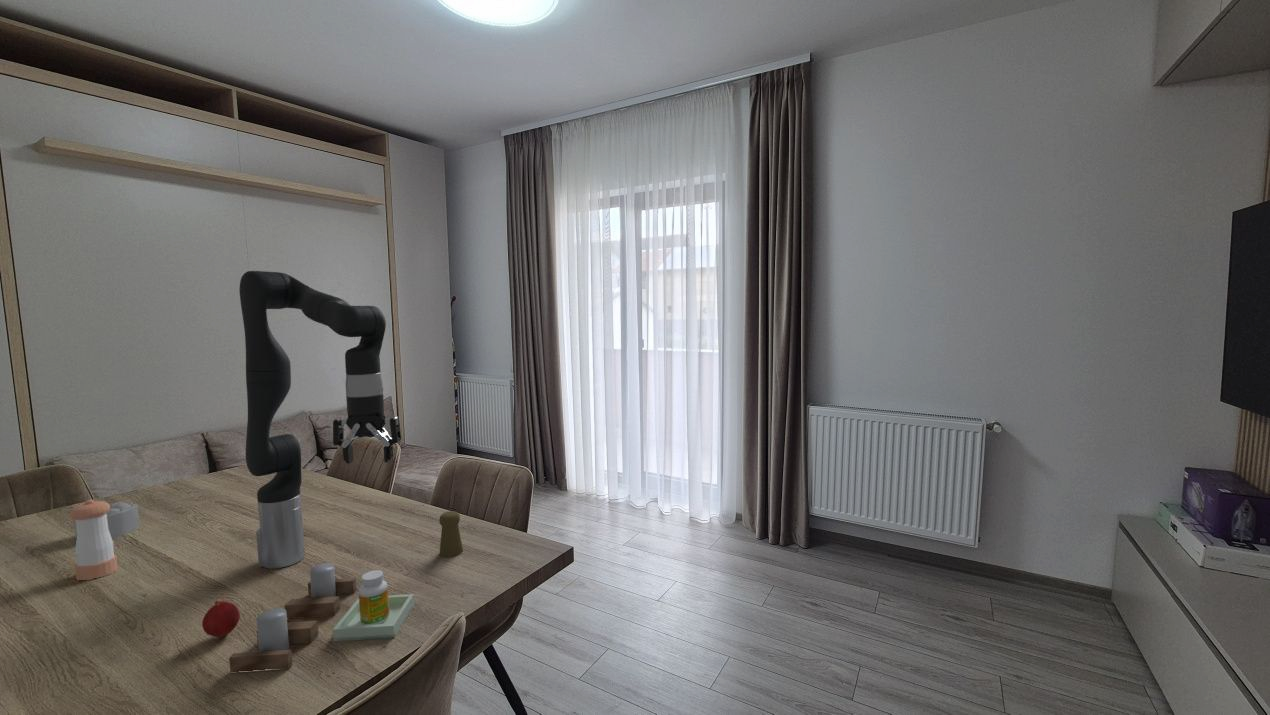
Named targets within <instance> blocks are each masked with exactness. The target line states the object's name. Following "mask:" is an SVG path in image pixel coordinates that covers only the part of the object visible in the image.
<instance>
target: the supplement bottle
mask: <svg viewBox="0 0 1270 715" xmlns="http://www.w3.org/2000/svg"><path fill="white" fill-rule="evenodd" d="M361 584H362V585H361V586H360V587H359V589H358V598H359V604H360V620H361V624H362V625H376V624H381V623H383V622H384V621H385V620H387V618H388V617H389V602H388V596H389V589H388V588H389V587H388V586H389V585H388V583H387V581H385V580H384V573H383V571H381V570H379V569H378V570H372V571H371V570H370V571H368V572H366V573H364V574H363V575H362V576H361Z"/></svg>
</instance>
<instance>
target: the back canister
mask: <svg viewBox="0 0 1270 715" xmlns="http://www.w3.org/2000/svg"><path fill="white" fill-rule="evenodd" d="M309 573H310V574H309V576H310V577H309V578H310V581H311V596H310V597H311V598H317V597H335V596H336V595H337V594H336V591H335V579H336V574H335V573H336V572H335V564H333V563H331V562H325V563H319V564H317V565H314V566H313V567H311V568H310V571H309Z"/></svg>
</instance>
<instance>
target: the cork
mask: <svg viewBox="0 0 1270 715" xmlns="http://www.w3.org/2000/svg"><path fill="white" fill-rule="evenodd" d="M460 519H461V516H460V514H459V512H457V511H454V510H451V511H446V512H444V513H442V514H440V516H439V525H440V526H441V531H440V532H441V535H440V544H439V554H438V555H439V556H440V557H442V558H445V559H446V558H454V557H455V558H456V557H458V556H459V555H461V554H462V553H463V552H464V548H463V543H462V542H463V541H462V538H461V537H462V536H461V533H460V528H459V523H460V522H461V521H460ZM457 555H458V556H457Z"/></svg>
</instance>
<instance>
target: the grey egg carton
mask: <svg viewBox="0 0 1270 715" xmlns="http://www.w3.org/2000/svg"><path fill="white" fill-rule="evenodd" d="M109 505H110V510H109V512H108V513H106V514H107V522H108V529H109V532H110V535H111V538H112V539H115V538H114V537H116V538H118V536H119V537H121V536H120V535H122V536H125V535H128V534H130V533H133V532H134V530H135V531H136V530H138V529H139V528H140V527H139V526H140V518H139V517H140V516H139V508H138V504H137V503H133V502H129V503H127V502H124V501H117V502H114V503H112V504H109ZM73 521H74V529H75V530H74V531H75V538H76V539H77V532H76V523H75V520H74V519H73ZM137 528H138V529H137ZM132 531H133V532H132ZM129 532H130V533H129ZM127 533H128V534H127ZM124 534H125V535H124ZM76 539H75V540H76Z"/></svg>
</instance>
